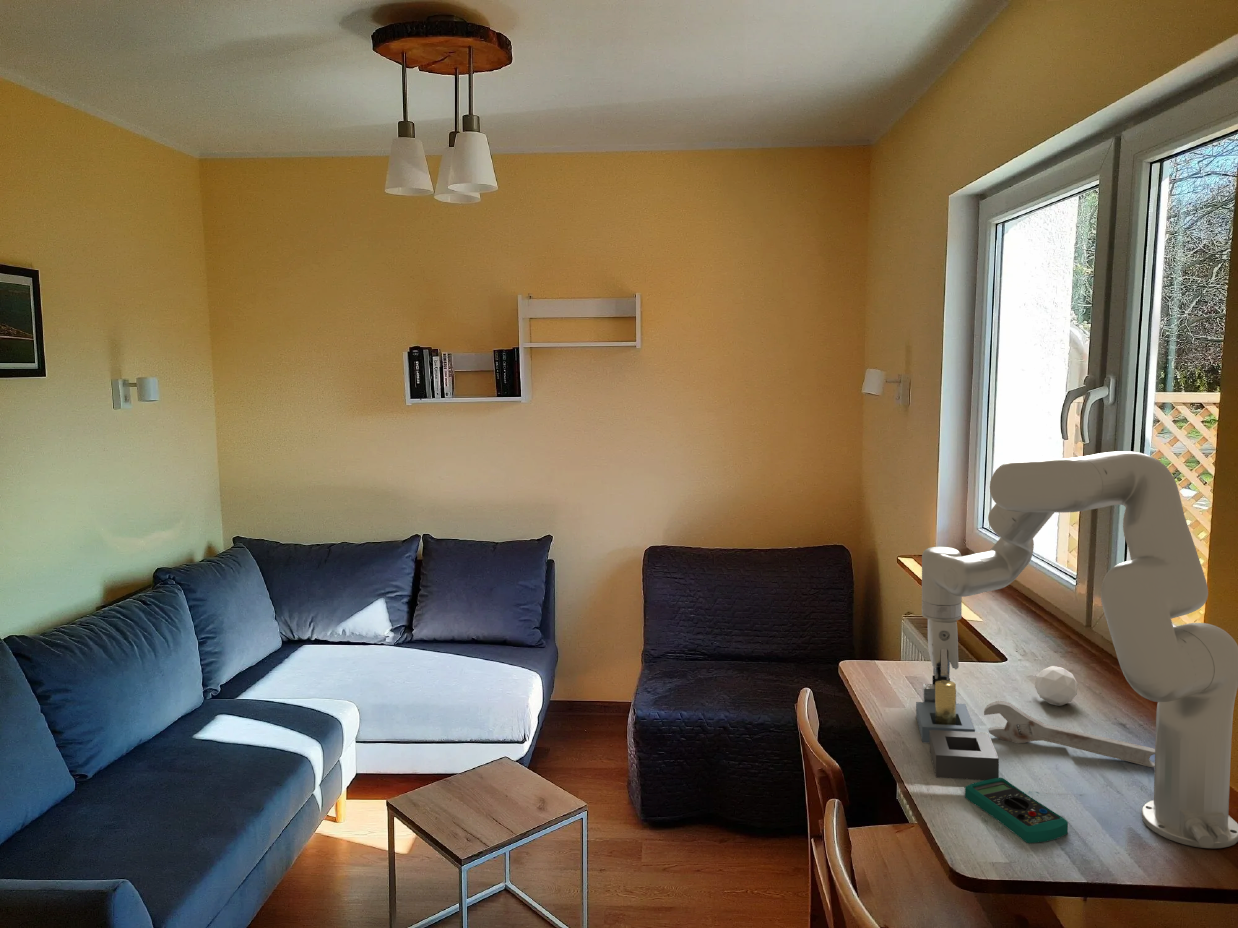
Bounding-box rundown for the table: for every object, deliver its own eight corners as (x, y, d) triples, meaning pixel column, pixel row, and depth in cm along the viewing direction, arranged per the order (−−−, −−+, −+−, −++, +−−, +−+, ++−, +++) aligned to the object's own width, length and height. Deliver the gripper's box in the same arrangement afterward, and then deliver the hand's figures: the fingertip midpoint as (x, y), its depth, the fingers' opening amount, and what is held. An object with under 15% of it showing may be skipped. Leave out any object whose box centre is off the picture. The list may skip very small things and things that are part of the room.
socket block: (974, 749, 161) (974, 729, 161) (922, 747, 163) (922, 726, 163) (965, 723, 172) (965, 703, 172) (916, 720, 174) (916, 701, 174)
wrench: (1163, 785, 151) (980, 740, 164) (1162, 780, 153) (980, 736, 165) (1171, 742, 150) (985, 700, 162) (1170, 738, 151) (986, 696, 164)
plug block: (960, 732, 167) (960, 702, 166) (927, 730, 169) (927, 701, 168) (954, 713, 176) (954, 684, 175) (922, 712, 177) (922, 683, 176)
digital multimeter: (1030, 848, 130) (1030, 829, 130) (962, 799, 145) (962, 781, 145) (1072, 838, 132) (1072, 819, 132) (1001, 790, 147) (1001, 773, 147)
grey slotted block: (998, 786, 148) (998, 758, 147) (936, 782, 150) (935, 754, 149) (988, 758, 157) (988, 732, 157) (929, 755, 160) (929, 729, 159)
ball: (1045, 716, 179) (1020, 684, 181) (1064, 693, 184) (1038, 662, 185) (1074, 710, 173) (1047, 677, 174) (1093, 686, 177) (1066, 654, 178)
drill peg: (957, 738, 164) (956, 687, 162) (936, 737, 165) (936, 686, 163) (954, 730, 167) (954, 680, 166) (934, 729, 168) (934, 679, 167)
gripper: (966, 621, 167) (966, 712, 170) (956, 598, 182) (955, 682, 184) (925, 620, 169) (925, 709, 172) (918, 597, 184) (918, 680, 186)
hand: (941, 695), depth 178 cm, fingers closed
